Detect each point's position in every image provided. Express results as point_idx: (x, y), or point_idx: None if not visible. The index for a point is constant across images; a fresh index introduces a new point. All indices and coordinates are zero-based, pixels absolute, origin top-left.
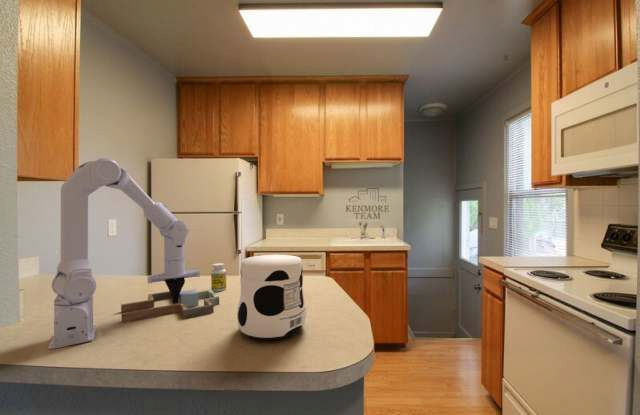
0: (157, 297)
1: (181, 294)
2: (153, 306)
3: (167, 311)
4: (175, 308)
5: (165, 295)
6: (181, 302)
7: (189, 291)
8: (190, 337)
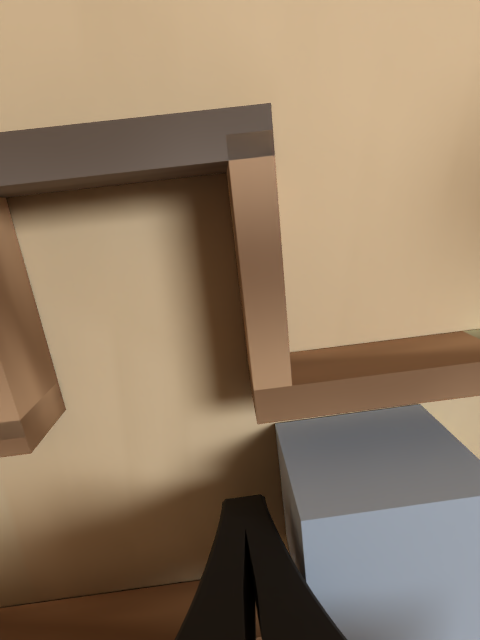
0: (48, 187)
1: None
2: (58, 411)
3: None
4: None
5: (143, 178)
6: None
7: (426, 563)
8: None
